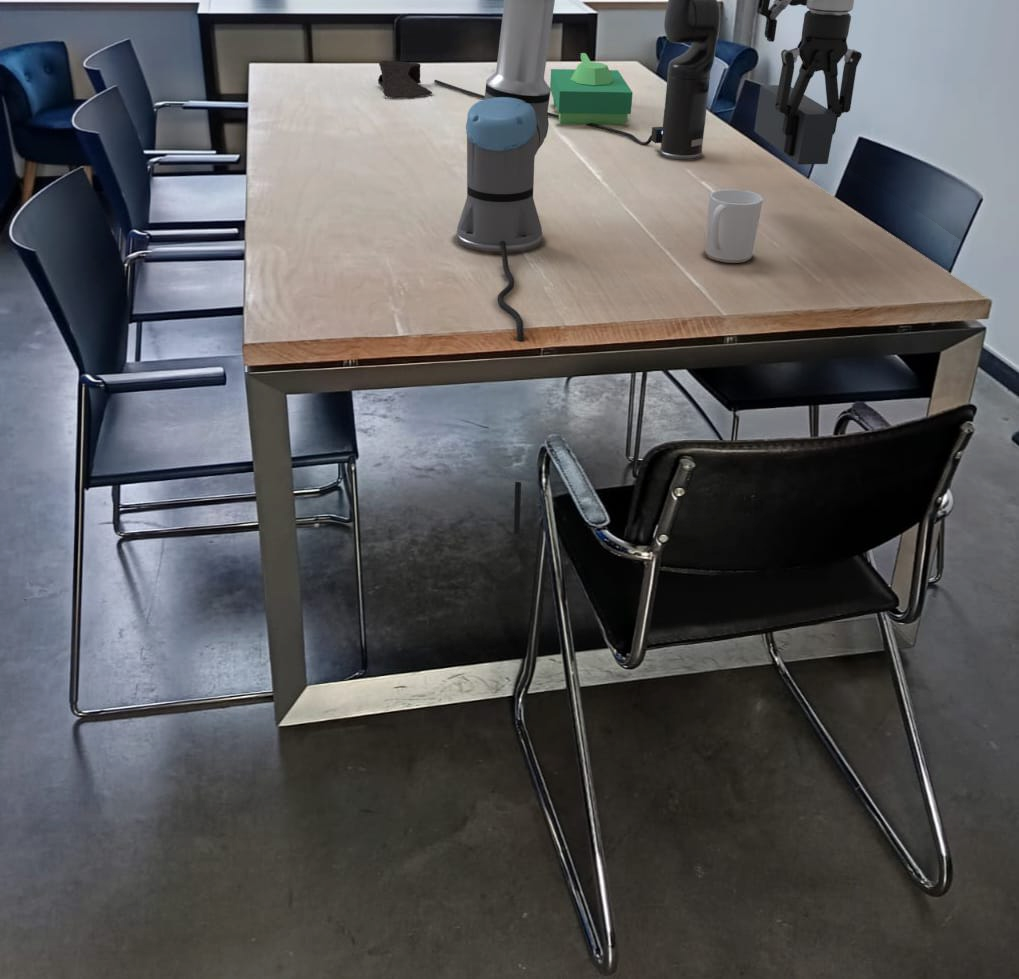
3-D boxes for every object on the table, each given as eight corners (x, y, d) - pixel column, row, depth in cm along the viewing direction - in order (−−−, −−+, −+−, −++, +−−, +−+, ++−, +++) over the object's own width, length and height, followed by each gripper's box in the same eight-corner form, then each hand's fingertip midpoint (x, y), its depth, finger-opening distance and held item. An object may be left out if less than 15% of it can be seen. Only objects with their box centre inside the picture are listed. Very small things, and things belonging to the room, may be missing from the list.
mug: (719, 243, 196) (726, 186, 191) (763, 254, 192) (772, 196, 186) (686, 258, 189) (693, 199, 184) (732, 271, 184) (740, 210, 179)
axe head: (443, 87, 294) (392, 77, 287) (436, 115, 299) (385, 106, 292) (421, 62, 307) (371, 52, 300) (414, 89, 311) (365, 80, 304)
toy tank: (615, 49, 292) (633, 76, 262) (611, 97, 298) (629, 128, 269) (549, 48, 291) (560, 74, 261) (547, 96, 297) (558, 127, 268)
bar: (827, 164, 190) (836, 114, 186) (798, 164, 190) (806, 114, 185) (780, 131, 209) (788, 85, 205) (753, 131, 209) (760, 85, 204)
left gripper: (871, 8, 185) (845, 147, 197) (767, 7, 183) (747, 148, 195) (890, 15, 179) (863, 158, 191) (783, 14, 176) (762, 159, 188)
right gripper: (837, -60, 196) (821, 37, 204) (761, -61, 194) (748, 37, 203) (854, -55, 189) (837, 44, 198) (775, -56, 188) (761, 44, 196)
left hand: (805, 153), depth 193 cm, fingers closed on bar, 5 cm apart
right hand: (792, 40), depth 200 cm, fingers open, 8 cm apart
